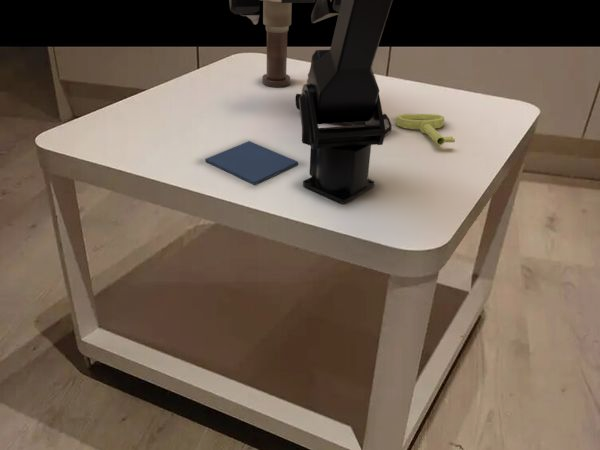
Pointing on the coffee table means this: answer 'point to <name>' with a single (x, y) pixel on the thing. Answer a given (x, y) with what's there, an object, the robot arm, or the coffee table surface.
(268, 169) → the napkin
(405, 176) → the coffee table surface
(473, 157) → the coffee table surface
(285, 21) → the shaving brush
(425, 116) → the key
